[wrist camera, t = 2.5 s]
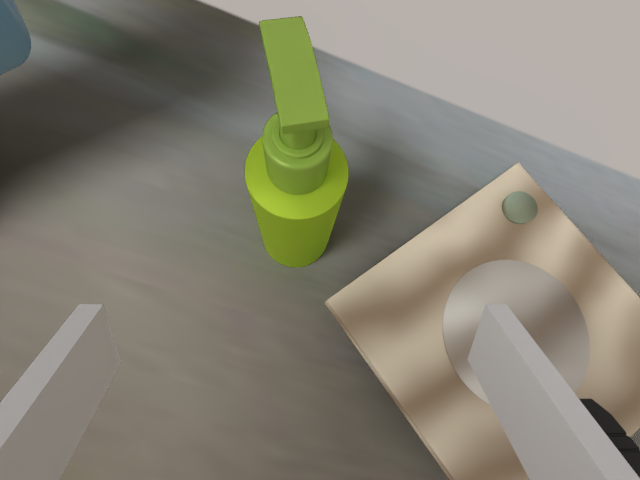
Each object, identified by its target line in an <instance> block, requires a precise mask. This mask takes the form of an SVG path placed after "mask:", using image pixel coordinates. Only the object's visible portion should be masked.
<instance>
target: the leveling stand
mask: <svg viewBox="0 0 640 480" xmlns="http://www.w3.org/2000/svg"><path fill="white" fill-rule="evenodd" d="M325 304H326V306H327V307H328V308H329V310H330V311H331V313H332V314H333V316H334V317H335V318H336V320H337V321H338V323H339V324H340V325H341V327H342V328H343V330H344V331H345V332H346V334H347V335H348V337H349V338H350V340H351V341H352V342H353V344H354V345H355V347H356V348H357V349H358V351H359V352H360V354H361V355H362V356H363V358H364V359H365V361H366V362H367V364H368V365H369V366H370V368H371V369H372V371H373V372H374V373H375V375H376V376H377V378H378V379H379V381H380V382H381V383H382V385H383V386H384V388H385V389H386V390H387V392H388V393H389V395H390V396H391V397H392V399H393V400H394V402H395V403H396V405H397V406H398V407H399V409H400V410H401V412H402V413H403V414H404V416H405V417H406V419H407V420H408V421H409V423H410V424H411V426H412V427H413V429H414V430H415V431H416V433H417V434H418V436H419V437H420V438H421V440H422V441H423V443H424V444H425V445H426V447H427V448H428V450H429V451H430V453H431V454H432V455H433V457H434V458H435V460H436V461H437V462H438V464H439V465H440V467H441V468H442V469H443V471H444V472H445V474H446V475H447V477H448V478H449V479H450V480H529V478H528V476H527V474H526V472H525V470H524V468H523V466H522V464H521V462H520V460H519V458H518V456H517V455H516V453H515V451H514V449H513V447H512V445H511V443H510V441H509V439H508V437H507V435H506V433H505V431H504V429H503V428H502V426H501V424H500V422H499V420H498V418H497V416H496V414H495V412H494V410H493V408H492V406H491V404H490V402H489V401H488V399H487V397H486V395H485V393H484V391H483V389H482V387H481V385H480V383H479V381H478V379H477V377H476V375H475V374H474V372H473V370H472V368H471V366H470V364H469V362H468V360H467V359H468V356H469V353H470V350H471V347H472V344H473V341H474V338H475V335H476V332H477V328H478V325H479V322H480V319H481V316H482V313H483V310H484V307H485V304H507V306H508V307H509V308H510V310H511V311H512V312H513V314H514V315H515V316H516V317H517V319H518V320H519V321H520V323H521V324H522V325H523V327H524V328H525V329H526V331H527V332H528V333H529V334H530V336H531V337H532V338H533V340H534V341H535V342H536V344H537V345H538V346H539V347H540V349H541V350H542V351H543V353H544V354H545V355H546V357H547V358H548V359H549V361H550V362H551V363H552V364H553V366H554V367H555V368H556V370H557V371H558V372H559V374H560V375H561V376H562V377H563V379H564V380H565V381H566V383H567V384H568V385H569V387H570V388H571V389H572V391H573V392H574V393H575V394H576V396H577V397H578V398H579V399H590V398H592V399H593V400H594V401H595V402H597V403H598V404H599V405H600V406H602V407H603V408H604V409H605V410H607V411H608V412H609V413H610V414H611V415H612V416H613V417H614V418H615V419H616V421H617V422H618V423H619V424H620V425H621V427H622V428H623V429H624V430H625V432H626V435H627V436H628V437H631V436H632V435H633V434H634V433H635V432H636V431H637V430H638V429H639V428H640V298H639V296H638V295H637V294H636V293H635V292H634V291H633V290H632V289H631V288H630V286H629V285H628V284H627V283H626V282H625V281H624V280H623V279H622V278H621V276H620V275H619V274H618V273H617V272H616V271H615V270H614V269H613V268H612V266H611V265H610V264H609V263H608V262H607V261H606V260H605V259H604V258H603V256H602V255H601V254H600V253H599V252H598V251H597V250H596V249H595V247H594V246H593V245H592V244H591V243H590V242H589V241H588V240H587V239H586V237H585V236H584V235H583V234H582V233H581V232H580V231H579V230H578V229H577V227H576V226H575V225H574V224H573V223H572V222H571V221H570V220H569V219H568V217H567V216H566V215H565V214H564V213H563V212H562V211H561V210H560V209H559V207H558V206H557V205H556V204H555V203H554V202H553V201H552V200H551V199H550V197H549V196H548V195H547V194H546V193H545V192H544V191H543V190H542V188H541V187H540V186H539V185H538V184H537V183H536V182H535V181H534V180H533V178H532V177H531V176H530V175H529V174H528V173H527V172H526V171H525V170H524V168H523V167H522V166H521V165H520V164H519V163H517V164H516V165H514V166H513V167H511V168H510V169H509V170H507V171H506V172H504V173H503V174H502V175H500V176H499V177H497V178H496V179H495V180H493V181H492V182H491V183H489V184H488V185H486V186H485V187H484V188H482V189H481V190H479V191H478V192H477V193H475V194H474V195H472V196H471V197H470V198H468V199H467V200H465V201H464V202H463V203H461V204H460V205H459V206H457V207H456V208H454V209H453V210H452V211H450V212H449V213H447V214H446V215H445V216H443V217H442V218H440V219H439V220H438V221H436V222H435V223H433V224H432V225H431V226H429V227H428V228H427V229H425V230H424V231H422V232H421V233H420V234H418V235H417V236H415V237H414V238H413V239H411V240H410V241H408V242H407V243H406V244H404V245H403V246H401V247H400V248H399V249H397V250H396V251H395V252H393V253H392V254H390V255H389V256H388V257H386V258H385V259H383V260H382V261H381V262H379V263H378V264H376V265H375V266H374V267H372V268H371V269H369V270H368V271H367V272H365V273H364V274H363V275H361V276H360V277H358V278H357V279H356V280H354V281H353V282H351V283H350V284H349V285H347V286H346V287H344V288H343V289H342V290H340V291H339V292H337V293H336V294H335V295H333V296H332V297H331V298H329V299H328V300H327V301H326V302H325Z"/></svg>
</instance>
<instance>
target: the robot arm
mask: <svg viewBox="0 0 640 480" xmlns="http://www.w3.org/2000/svg"><path fill="white" fill-rule="evenodd" d="M30 50H31V39H30V35H29V32H28V29H27V27H26V25H25V23H24V20H23V18H22V16H21V14H20V12H19V10H18V8H17V6H16V5H15V3H14V1H13V0H0V75H1V74H3V73H5V72H8V71H10V70H12V69H14V68H16V67H19V66H20V65H21V64H22V63H24V62H25V61H26V60H27V58H28V56H29V53H30ZM467 360H468V362H469V364H470V366H471V368H472V370H473V372H474V374H475V375H476V377H477V379H478V381H479V383H480V385H481V387H482V389H483V391H484V393H485V395H486V397H487V399H488V401H489V402H490V404H491V406H492V408H493V410H494V412H495V414H496V416H497V418H498V420H499V422H500V424H501V426H502V428H503V429H504V431H505V433H506V435H507V437H508V439H509V441H510V443H511V445H512V447H513V449H514V451H515V453H516V455H517V456H518V458H519V460H520V462H521V464H522V466H523V468H524V470H525V472H526V474H527V476H528V478H529V480H640V451H639V447H638V446H637V445H636V444H635V443H634V441H633V440H632V439H631V438H630V437H628V436H627V435H626V432H625V430H624V429H623V428H622V427H621V425H620V424H619V423H618V422H617V421H616V419H615V418H614V417H613V416H612V415H611V414H610V413H609V412H608V411H607V410H605V409H604V408H603V407H602V406H600V405H599V404H598V403H597V402H595V401H594V400H593V399H592V398H590V399H579V398H578V397H577V396H576V394H575V393H574V392H573V391H572V389H571V388H570V387H569V385H568V384H567V383H566V381H565V380H564V379H563V377H562V376H561V375H560V374H559V372H558V371H557V370H556V368H555V367H554V366H553V364H552V363H551V362H550V361H549V359H548V358H547V357H546V355H545V354H544V353H543V351H542V350H541V349H540V347H539V346H538V345H537V344H536V342H535V341H534V340H533V338H532V337H531V336H530V334H529V333H528V332H527V331H526V329H525V328H524V327H523V325H522V324H521V323H520V321H519V320H518V319H517V317H516V316H515V315H514V314H513V312H512V311H511V310H510V308H509V307H508V306H507V304H485V307H484V310H483V313H482V316H481V319H480V322H479V325H478V328H477V332H476V335H475V338H474V341H473V344H472V347H471V350H470V353H469V356H468V359H467ZM120 365H121V361H120V358H119V355H118V351H117V348H116V345H115V342H114V338H113V335H112V332H111V329H110V325H109V322H108V319H107V316H106V312H105V309H104V306H103V304H79V305H78V306H77V308H76V309H75V310H74V311H73V313H72V314H71V315H70V316H69V318H68V319H67V320H66V321H65V323H64V324H63V325H62V326H61V328H60V329H59V330H58V331H57V333H56V334H55V335H54V336H53V338H52V339H51V340H50V341H49V343H48V344H47V345H46V346H45V348H44V349H43V350H42V351H41V353H40V354H39V355H38V356H37V358H36V359H35V360H34V361H33V363H32V364H31V365H30V366H29V368H28V369H27V370H26V371H25V373H24V374H23V375H22V376H21V378H20V379H19V380H18V381H17V383H16V384H15V385H14V386H13V388H12V389H11V390H10V391H9V393H8V394H7V395H6V396H5V398H4V399H3V400H2V401H1V403H0V480H60V478H61V476H62V474H63V472H64V470H65V468H66V466H67V464H68V463H69V461H70V459H71V457H72V455H73V453H74V451H75V449H76V448H77V446H78V444H79V442H80V440H81V438H82V436H83V434H84V432H85V431H86V429H87V427H88V425H89V423H90V421H91V419H92V417H93V415H94V414H95V412H96V410H97V408H98V406H99V404H100V402H101V400H102V399H103V397H104V395H105V393H106V391H107V389H108V387H109V385H110V383H111V382H112V380H113V378H114V376H115V374H116V372H117V370H118V368H119V367H120Z"/></svg>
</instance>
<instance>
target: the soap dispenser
mask: <svg viewBox="0 0 640 480" xmlns="http://www.w3.org/2000/svg"><path fill="white" fill-rule="evenodd" d="M259 25H260V31H261V37H262V42H263V46H264V50H265V55H266V60H267V64H268V69H269V74H270V79H271V84H272V89H273V94H274V99H275V103H276V108H277V113H275V114H274V115H273V116H272V117H271V118H270V119H269V120H268V121H267V123H266V125H265V127H264V130H263V135H262V137H261V138H260V139H259V140H257V142H256V143H255V144H254V145H253V147H252V148H251V150H250V152H249V154H248V156H247V159H246V163H245V180H246V185H247V188H248V191H249V195H250V198H251V201H252V205H253V208H254V212H255V215H256V218H257V222H258V225H259V229H260V232H261V235H262V239H263V242H264V246H265V248H266V250H267V252H268V253H269V255H270V256H271V257H272V258H273V259H274V260H275V261H277V262H278V263H280V264H282V265H285V266H288V267H303V266H307V265H309V264H311V263H313V262H315V261H316V260H317V259H318V258H319V257H320V256H321V255H322V254H323V252H324V251H325V249H326V246H327V244H328V241H329V238H330V235H331V232H332V229H333V226H334V223H335V220H336V217H337V214H338V211H339V208H340V205H341V202H342V199H343V196H344V193H345V190H346V187H347V183H348V176H349V170H348V163H347V160H346V157H345V155H344V153H343V151H342V149H341V148H340V146H339V145H338V144H337V142H336V141H335V140H334V139H333V136H332V131H331V128H330V126H329V115H328V110H327V106H326V101H325V97H324V93H323V88H322V84H321V80H320V75H319V71H318V67H317V63H316V59H315V55H314V51H313V47H312V44H311V41H310V37H309V35H308V31H307V29H306V25H305V23H304V20H303V18H302V17H301V16H299V17H289V18H280V19H271V20H262V21H260V22H259Z"/></svg>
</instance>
